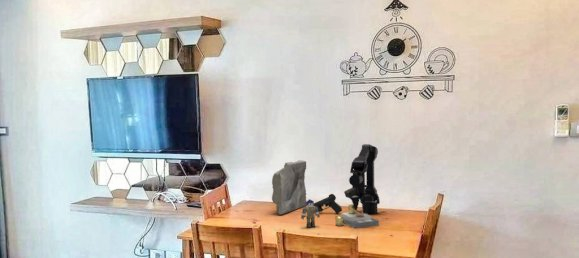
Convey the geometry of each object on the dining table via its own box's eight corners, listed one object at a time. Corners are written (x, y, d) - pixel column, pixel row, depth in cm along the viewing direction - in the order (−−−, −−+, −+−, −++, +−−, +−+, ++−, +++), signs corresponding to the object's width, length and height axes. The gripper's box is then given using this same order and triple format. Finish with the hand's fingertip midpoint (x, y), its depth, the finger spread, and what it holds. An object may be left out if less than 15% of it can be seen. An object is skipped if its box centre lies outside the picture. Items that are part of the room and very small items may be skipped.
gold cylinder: (333, 225, 248) (333, 216, 248) (339, 223, 250) (339, 215, 251) (339, 226, 244) (339, 217, 244) (345, 225, 247) (345, 216, 247)
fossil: (284, 216, 271) (283, 165, 269) (270, 215, 275) (269, 165, 273) (308, 205, 301) (307, 159, 300) (296, 204, 305) (295, 159, 304)
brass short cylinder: (354, 212, 260) (354, 204, 260) (358, 213, 256) (357, 205, 256) (347, 212, 259) (347, 204, 259) (350, 214, 255) (350, 206, 254)
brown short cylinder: (361, 215, 252) (361, 209, 252) (365, 216, 248) (365, 211, 248) (354, 215, 251) (354, 210, 251) (358, 217, 247) (358, 212, 247)
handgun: (342, 211, 273) (333, 193, 274) (316, 222, 277) (308, 204, 277) (343, 210, 275) (334, 192, 276) (317, 222, 279) (308, 203, 279)
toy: (303, 229, 241) (302, 200, 240) (300, 227, 245) (299, 199, 244) (321, 226, 245) (320, 198, 244) (317, 225, 249) (317, 197, 248)
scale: (361, 217, 264) (361, 210, 264) (378, 225, 246) (378, 217, 246) (337, 220, 259) (337, 213, 258) (353, 228, 241) (353, 220, 241)
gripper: (338, 181, 255) (338, 209, 255) (354, 186, 237) (355, 216, 238) (356, 180, 259) (356, 207, 259) (373, 185, 241) (373, 214, 242)
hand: (359, 211), depth 249 cm, fingers open, 9 cm apart
